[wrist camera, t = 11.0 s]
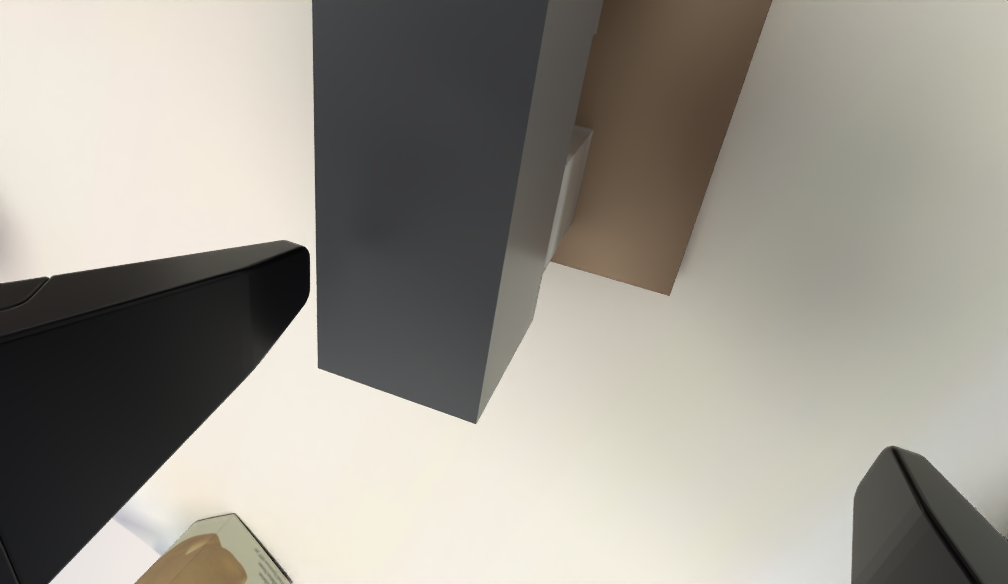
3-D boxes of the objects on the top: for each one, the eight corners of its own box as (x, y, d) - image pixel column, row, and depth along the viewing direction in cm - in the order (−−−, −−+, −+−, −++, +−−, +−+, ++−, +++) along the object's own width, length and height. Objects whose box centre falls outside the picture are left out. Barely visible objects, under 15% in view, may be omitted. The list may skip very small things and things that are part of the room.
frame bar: (721, -567, 8) (707, -929, 5) (532, 319, 15) (476, 423, 12) (467, -573, 9) (299, -894, 5) (404, 279, 16) (318, 367, 13)
